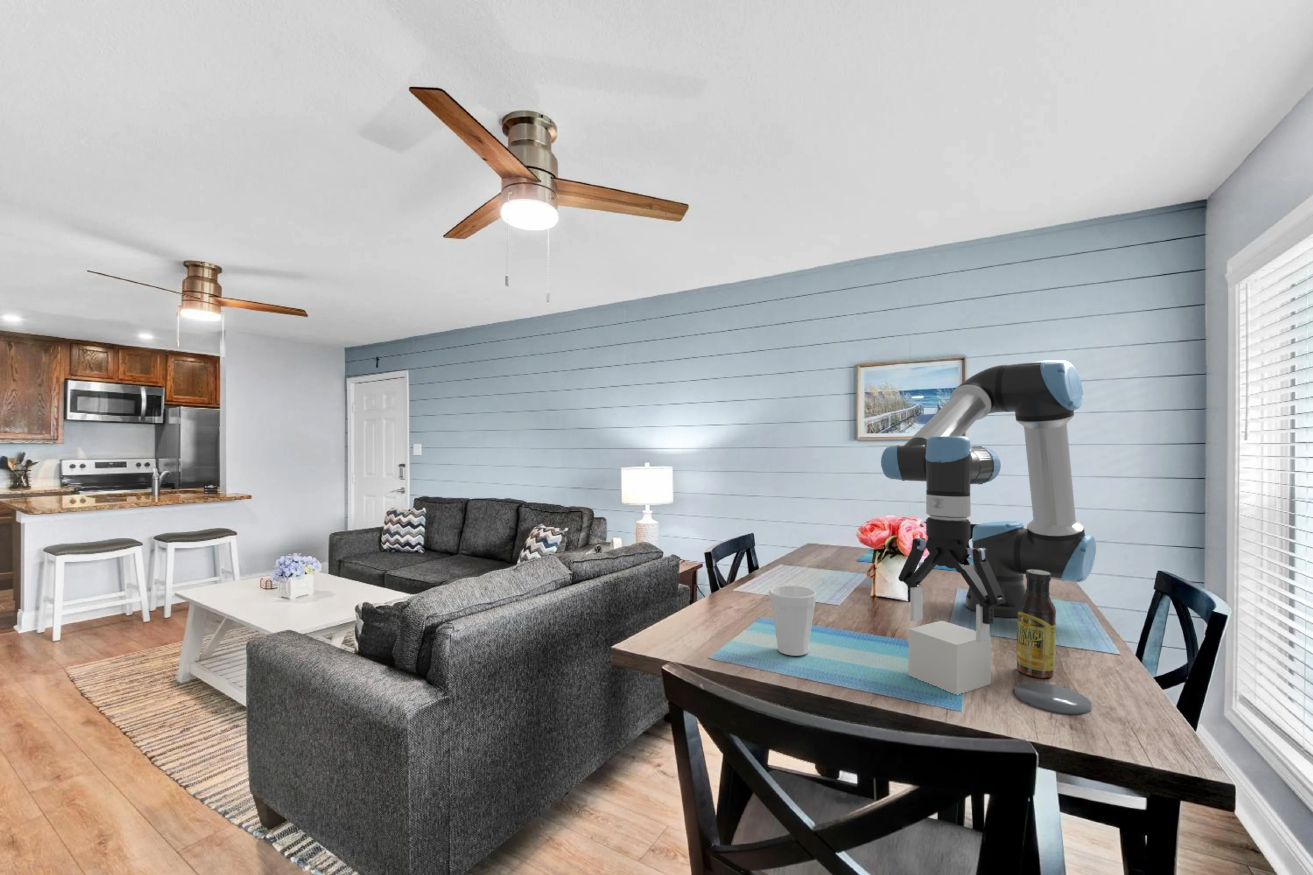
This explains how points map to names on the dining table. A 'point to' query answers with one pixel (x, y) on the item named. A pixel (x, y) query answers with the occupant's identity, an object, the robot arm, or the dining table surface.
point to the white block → (949, 657)
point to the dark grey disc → (1053, 698)
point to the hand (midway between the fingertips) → (947, 630)
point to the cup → (792, 617)
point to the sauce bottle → (1036, 627)
